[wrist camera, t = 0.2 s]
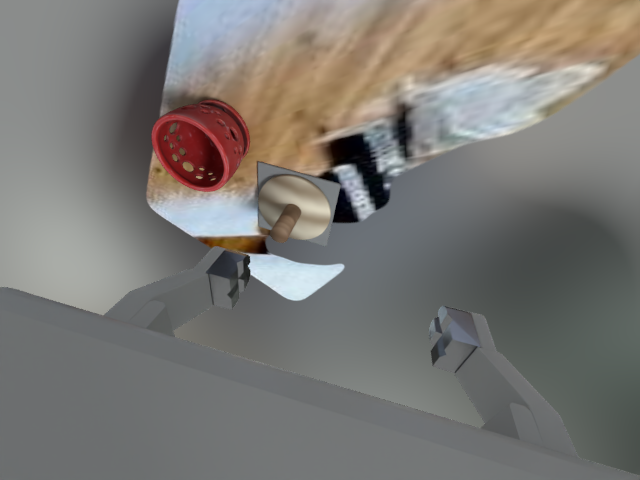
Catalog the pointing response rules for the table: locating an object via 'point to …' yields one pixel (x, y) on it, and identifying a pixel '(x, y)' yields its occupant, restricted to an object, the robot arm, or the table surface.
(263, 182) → the grey mat
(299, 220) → the birch lid
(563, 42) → the table surface
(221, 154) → the plant pot
